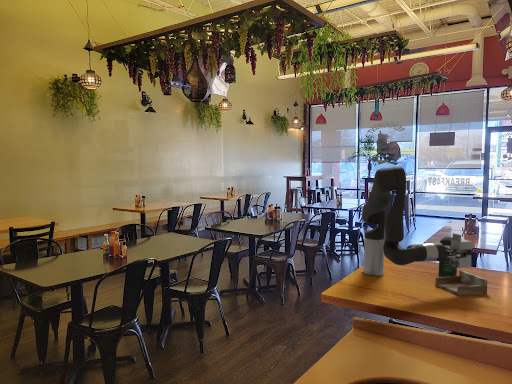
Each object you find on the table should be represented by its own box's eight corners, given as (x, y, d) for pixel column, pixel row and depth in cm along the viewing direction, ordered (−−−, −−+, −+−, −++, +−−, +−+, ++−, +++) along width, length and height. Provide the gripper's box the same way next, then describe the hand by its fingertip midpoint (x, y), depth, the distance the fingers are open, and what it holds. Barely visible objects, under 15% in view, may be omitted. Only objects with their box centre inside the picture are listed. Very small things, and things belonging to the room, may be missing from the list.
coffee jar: (456, 280, 180) (458, 240, 179) (437, 277, 184) (439, 238, 182) (457, 275, 188) (459, 236, 187) (439, 272, 192) (440, 235, 191)
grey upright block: (448, 265, 167) (450, 233, 167) (462, 264, 169) (464, 232, 168) (457, 268, 162) (459, 235, 161) (472, 267, 164) (473, 234, 163)
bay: (435, 285, 172) (435, 271, 172) (461, 283, 175) (461, 270, 175) (459, 296, 158) (460, 281, 158) (486, 293, 161) (487, 279, 161)
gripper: (443, 246, 155) (480, 245, 159) (420, 240, 169) (454, 238, 173) (442, 265, 155) (479, 263, 159) (419, 257, 169) (453, 255, 173)
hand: (466, 250), depth 166 cm, fingers closed on grey upright block, 5 cm apart
